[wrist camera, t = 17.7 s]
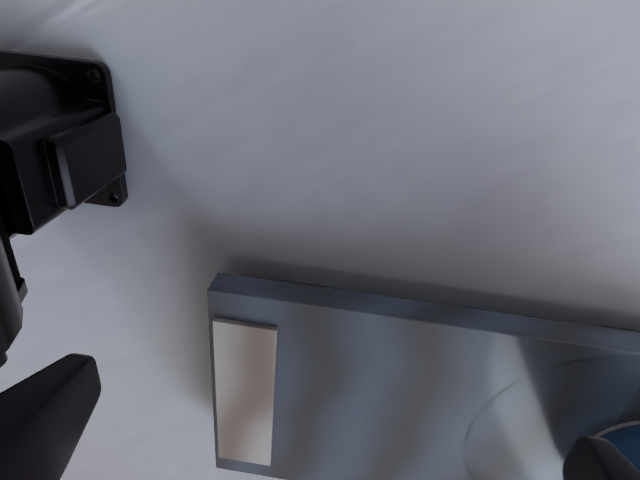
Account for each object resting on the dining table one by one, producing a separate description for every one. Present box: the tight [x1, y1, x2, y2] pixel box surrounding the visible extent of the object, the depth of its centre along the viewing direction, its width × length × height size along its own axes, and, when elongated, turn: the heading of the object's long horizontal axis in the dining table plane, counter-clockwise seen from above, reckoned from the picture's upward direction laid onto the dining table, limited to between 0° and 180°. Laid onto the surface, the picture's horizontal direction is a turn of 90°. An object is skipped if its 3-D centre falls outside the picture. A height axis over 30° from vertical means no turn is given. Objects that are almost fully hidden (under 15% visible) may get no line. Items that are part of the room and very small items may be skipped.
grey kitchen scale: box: [207, 273, 640, 480], centre depth 24 cm, size 26×13×3 cm, turn 85°
